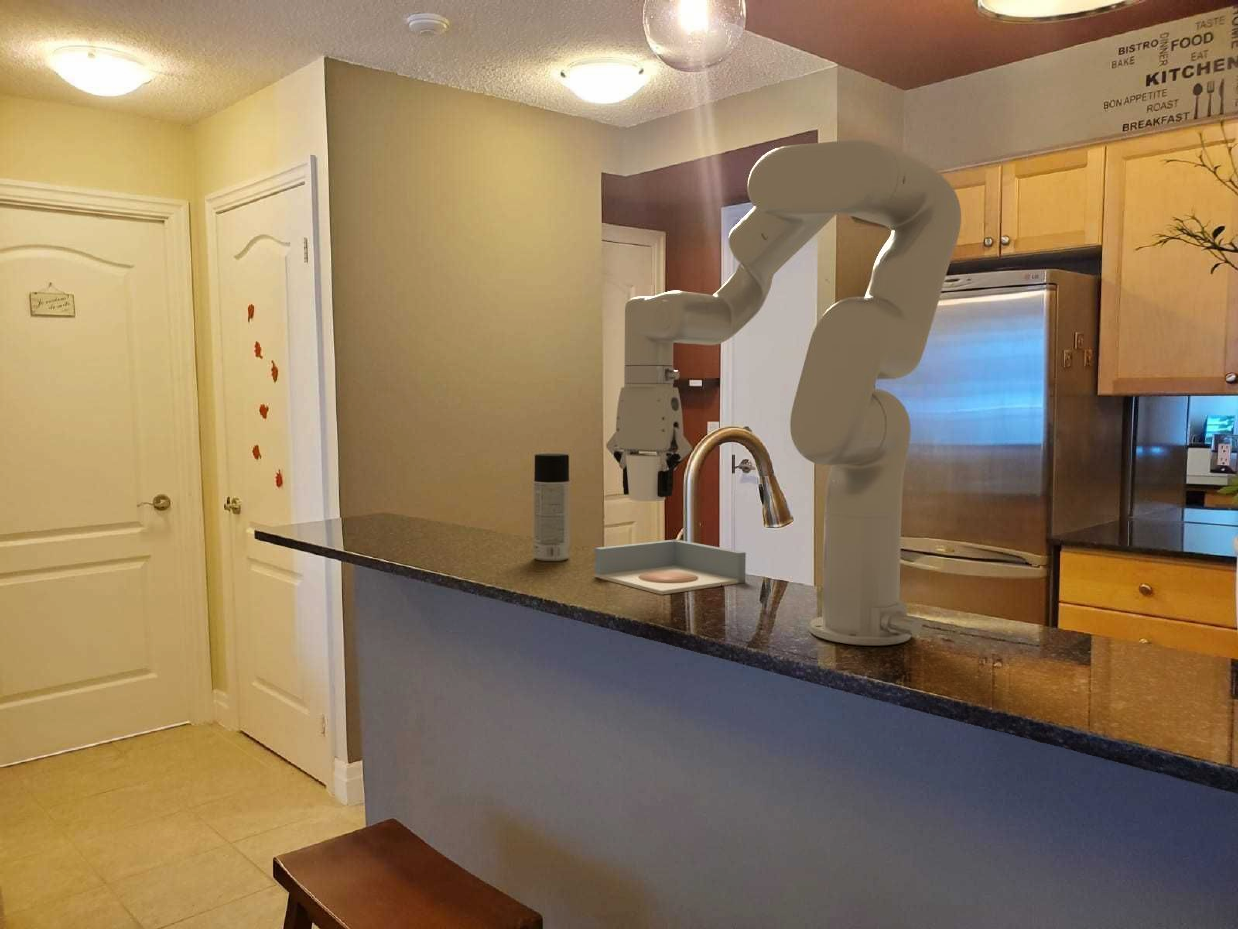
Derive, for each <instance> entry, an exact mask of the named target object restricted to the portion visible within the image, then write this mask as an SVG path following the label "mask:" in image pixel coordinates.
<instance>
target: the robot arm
mask: <svg viewBox="0 0 1238 929" xmlns="http://www.w3.org/2000/svg"><path fill="white" fill-rule="evenodd" d="M746 186H747V195H748V198H749V201H750V202H751V204H752V206H753V208H752V209H750V210H749V211H748V212H747V214H745V215H744V217H743V218H741V219H740V221H739V222H737V224H735V226H734V227H733V228H732V229H731V230H730V232H729V234H728V245H729V248H730V251H731V253H732V255H733V257H734V259H736V261H737V262H738V266H737V268H736V269H735V272H734V273H733V274H732V276H730V278H729V279H728V280H727V281H726V282H725V283H724V284H723V285H722V286H721V287H720V288H719V289H718V290H717V291H716V292H715V293H713V294H706V293H701V292H700V293H699V292H693V291H692V292H689V291H684V290H683V291H682V290H670V291H667V292H662V293H660V294H657V295H654V296H636V297H633V298H630V299H629V300H628V301H626V304H625V306H624V366H623V367H624V368H623V372H624V374H623V375H624V377H623V378H624V380H623V381H624V382H623V383H624V384H623V385H624V386H623V387H621V389H620V391H619V396H618V400H617V402H618V403H617V409H616V418H615V420H616V421H615V432H614V433H613V435H612V436H611V438H609V440H608V441H607V442H606V445H605V446H606V449H607V450H608V451H609V452H610V454H612V455H613V458H614V459H615V460H616V461H617V463H618V466H619V468H620V469H621V470H622V488H623V491H622V492H623V495H626V496H627V495H628V496H629V489H628V476H627V463H626V455H627V454H638V453H640V452H642V453H643V452H645V453H656V454H657V456H661V457H660V466H661V469H662V471H658V496H659V497H665V498H667V497H671V496H672V494H673V490H674V471H676V470H677V468H678V466H679V465H680V464H681V463H682V461H683V460H684V458H686V457H687V456H688V455H689V454H690V453H691V452H692V450H693V446H692V445H691V443H690V442H689V441H688V439H687V438H686V437H685V435H684V423H683V422H684V421H683V420H684V419H683V410H682V402H681V398H680V396H681V395H680V392H679V388H678V387H674V383H675V382H674V381H675V380H679V378H680V375H681V374H680V371H679V370H675V369H674V368H675V367H674V343H675V344H676V343H677V344H686V345H689V344H692V345H701V346H703V345H704V346H715V345H720V344H722V343H724V342H727V341H728V340H730V339H731V338H732V337H734V336H735V335H736V334H737V333H739V332H740V330H742V329H743V328H744V327H745V326H747V324H748V323H750V321H751V320H752V319H753V318H754V317H755V316H756V315H757V314H758V313H759V311H760V310H761V309H762V307H763V306H764V303H765V302H766V299H767V297H768V295H769V292H770V290H771V287H772V283H773V279H774V278H773V277H774V276H775V274H776V273H777V272H778V271H779V270H780V269H781V268H782V267H784V265H785V264H787V262H789V261H790V259H791V258H793V256H794V255H796V254H797V253H798V252H799V251H800V250H801V249H802V248H803V247H804V246H805V245H806V244H807V243H809V241H811V239H812V238H813V237H815V235H816V234H818V233H819V232H820V231H821V230H822V229H823V227H825V226H827V224H828V223H829V222H830V221H831V220H832V219H833V218H834V217H835V216H840V215H841V216H850V217H854V218H857V219H861V220H864V221H867V222H871V223H875V224H878V225H882V226H885V227H886V228H888V229H889V230H890V236H889V238H888V239H887V241H886V242H885V243H884V245H883V247H882V248H881V250H880V251H879V253H878V256H877V257H876V259H875V262H874V264H873V268H872V272H871V277H870V281H869V283H868V286H867V289H866V292H865V296H851V297H846V298H843V299H841V300H839V301H837V302H835V303H833V304H832V305H831V306H830V307H829V308H827V309H826V310H825V312H824V313H823V314H822V315H821V317H820V318H819V320H818V322H817V323H816V324H815V326H814V329H813V331H812V333H811V337H810V341H809V344H808V346H807V352H806V355H805V359H804V362H803V365H802V369H801V370H802V371H801V374H800V377H799V381H798V383H797V384H798V385H797V388H796V392H795V396H794V400H793V404H792V409H791V412H790V413H791V414H790V421H789V422H790V423H789V425H790V426H789V429H790V430H789V431H790V436H791V440H792V442H793V445H794V447H795V449H796V450H797V452H798V453H799V454H800V455H801V456H802V457H803V458H804V459H806V460H807V461H808V462H812V463H813V464H816V465H820V466H831V467H830V470H829V474H828V477H827V481H826V485H825V494H824V513H823V515H824V516H823V552H822V553H823V554H822V555H823V559H822V560H823V561H822V563H823V564H822V567H823V568H822V598H821V599H822V600H821V601H822V604H821V605H822V607H821V612H822V613H821V616H818V617H816V618H813V619H812V620H810V622H809V632H810V633H811V634H813V635H814V636H815V637H818V638H820V639H822V640H825V641H830V642H835V643H841V644H847V645H853V646H854V645H855V646H873V647H874V646H890V645H891V646H892V645H898V644H901V643H905V642H908V641H909V640H911V638H912V636H917V635H919V633H920V631H921V628H922V627H923V626H924V618H922V617H919V616H914V615H908V613H907V603H906V602H901V601H900V586H901V585H900V584H901V583H900V582H901V581H900V580H901V579H900V578H901V575H900V573H901V549H902V548H901V545H902V543H901V542H902V538H901V537H902V514H903V487H904V477H905V476H904V475H905V469H906V464H907V463H906V462H907V458H908V452H909V447H910V441H911V420H910V417H909V413H908V411H907V408H906V407H905V405H904V404H903V403H902V402H901V400H900V399H899V398H897V396H895V395H894V394H893V393H891V392H888V391H886V390H884V389H881V388H877V387H875V386H876V382H877V380H896V379H900V378H903V377H905V376H908V375H909V374H911V373H912V372H914V370H915V369H916V368H917V367H918V365H919V364H920V362H921V361H922V357H923V354H924V352H925V349H926V345H927V342H928V338H929V334H930V332H931V327H932V325H933V322H934V319H935V315H936V311H937V309H938V304H939V302H940V297H941V294H942V291H943V286H944V283H945V279H946V276H947V273H948V270H949V267H950V263H951V261H952V257H953V255H954V251H955V249H956V247H957V243H958V238H959V235H960V232H961V227H962V226H961V224H962V210H961V209H962V208H961V204H960V200H959V197H958V194H957V192H956V191H955V189H954V188H953V186H952V185H951V183H950V182H949V180H947V178H945V176H943V174H941V173H940V172H938V171H937V170H936V169H934V168H933V167H931V166H929V165H928V164H926V163H925V162H923V161H921V160H920V159H917V158H915V157H913V156H911V155H908V154H905V153H903V152H899V151H897V150H895V149H893V148H891V147H888V146H885V145H883V144H880V143H878V142H874V141H870V140H864V139H850V140H849V139H848V140H837V141H836V140H835V141H826V142H814V143H803V144H802V143H801V144H792V145H791V144H790V145H782V146H780V147H777V148H774V149H772V150H770V151H768V152H766V153H765V154H764V155H762V156H761V157H760V158H759V159H758V160H757V162H756V163H755V164H754V165H753V167H752V169H751V171H750V174H749V176H748V180H747V185H746ZM674 452H675V453H674ZM666 455H668V456H669V457H668V460H667V456H666Z"/></svg>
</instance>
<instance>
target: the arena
mask: <svg viewBox="0 0 1238 929" xmlns="http://www.w3.org/2000/svg"><path fill="white" fill-rule="evenodd" d="M746 558H747V553H746V551H740V550H735V549H729V548H723V547H718V546H713V545H708V544H703V543H702V544H701V543H697V542H692V541H686V540H681V539H668V540H658V541H649V542H640V543H631V544H630V543H629V544H620V545H619V544H618V545H611V546H600V547H594V577H595V578H597V579H602V580H605V581H608V582H612V583H617V584H620V585H624V586H628V587H631V588H635V589H639V590H643V591H646V592H649V593H650V592H651V593H654V594H658V595H662V596H664V595H667V594H669V595H670V594H677V593H682V592H689V591H697V590H701V589H702V590H703V589H710V588H716V587H721V585H722V587H723V586H729V585H734V584H735V585H736V584H742V583H746V563H747V562H746V560H747V559H746Z"/></svg>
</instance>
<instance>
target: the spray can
mask: <svg viewBox="0 0 1238 929" xmlns="http://www.w3.org/2000/svg"><path fill="white" fill-rule="evenodd" d="M533 478H534V480H533V482H534V483H533V484H534V485H533V487H534V488H533V492H534V494H533V495H534V497H533V498H534V499H533V500H534V502H533V506H534V507H533V508H534V510H533V511H534V514H533V517H534V518H533V520H534V521H533V523H534V527H533V528H534V529H533V531H534V534H533V535H534V538H533V540H534V543H533V544H534V545H533V548H534V549H533V551H534V552H533V554H534V555H533V556H534V559H535V560H536V561H541V562H560V561H561V562H563V561H565V560H568V559H569V556H570V456H569V454H567V453H537V454H535V455H534V477H533Z"/></svg>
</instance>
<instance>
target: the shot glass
mask: <svg viewBox="0 0 1238 929" xmlns="http://www.w3.org/2000/svg"><path fill="white" fill-rule="evenodd" d="M666 456H667V460H668V457H669V456H668V455H666ZM660 457H661V456H657V453H654V452H645V453H643V452H642V453H640V452H639V453H638V454H627V455H626V463H627V476H628V489H629V495H628V499H629V501H638V502H661V501H665V500H666V497H659V496H658V471H662V469H661V466H660Z"/></svg>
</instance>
